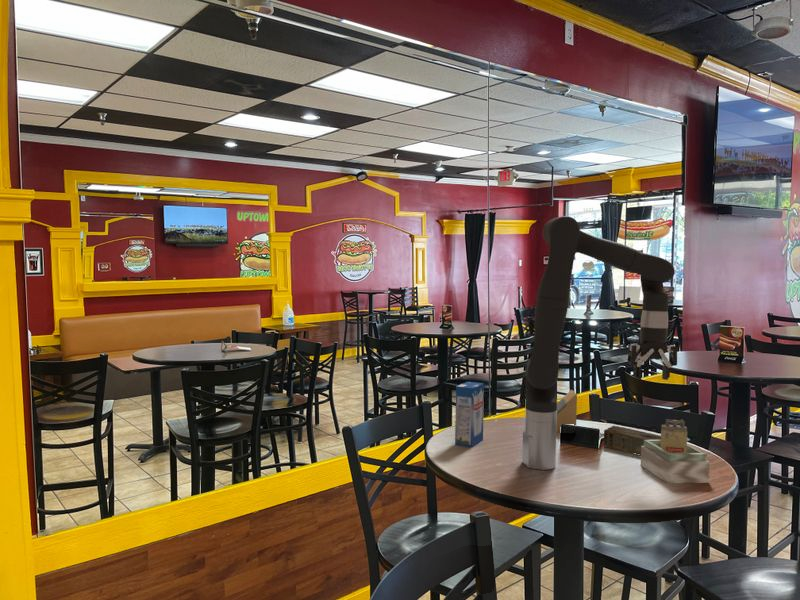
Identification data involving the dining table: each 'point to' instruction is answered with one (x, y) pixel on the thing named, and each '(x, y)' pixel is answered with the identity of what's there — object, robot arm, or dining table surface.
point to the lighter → (674, 436)
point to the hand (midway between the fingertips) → (651, 379)
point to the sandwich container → (567, 410)
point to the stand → (675, 463)
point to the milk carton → (469, 414)
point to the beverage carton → (627, 439)
